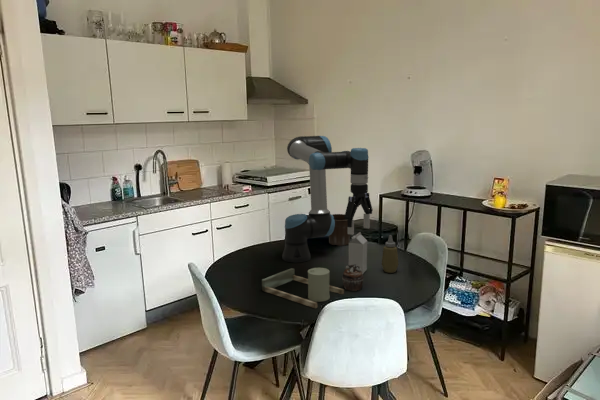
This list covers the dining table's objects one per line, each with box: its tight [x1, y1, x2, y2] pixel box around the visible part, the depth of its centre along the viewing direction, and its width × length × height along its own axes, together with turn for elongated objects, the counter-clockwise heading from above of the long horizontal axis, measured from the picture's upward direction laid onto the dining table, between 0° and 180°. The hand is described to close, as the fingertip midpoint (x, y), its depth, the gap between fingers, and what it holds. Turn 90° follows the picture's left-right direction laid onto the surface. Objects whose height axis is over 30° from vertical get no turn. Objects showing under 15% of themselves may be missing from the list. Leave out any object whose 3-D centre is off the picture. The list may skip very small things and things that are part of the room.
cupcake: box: [341, 264, 365, 292], centre depth 199 cm, size 10×10×10 cm
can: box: [307, 267, 331, 303], centre depth 188 cm, size 9×9×12 cm
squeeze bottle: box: [381, 234, 399, 274], centre depth 218 cm, size 8×8×18 cm
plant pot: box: [328, 213, 351, 247], centre depth 268 cm, size 16×16×16 cm
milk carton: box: [348, 231, 368, 275], centre depth 218 cm, size 7×7×19 cm
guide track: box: [261, 267, 345, 309], centre depth 195 cm, size 30×19×5 cm, turn 49°
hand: (358, 231), depth 200 cm, fingers open, 13 cm apart
